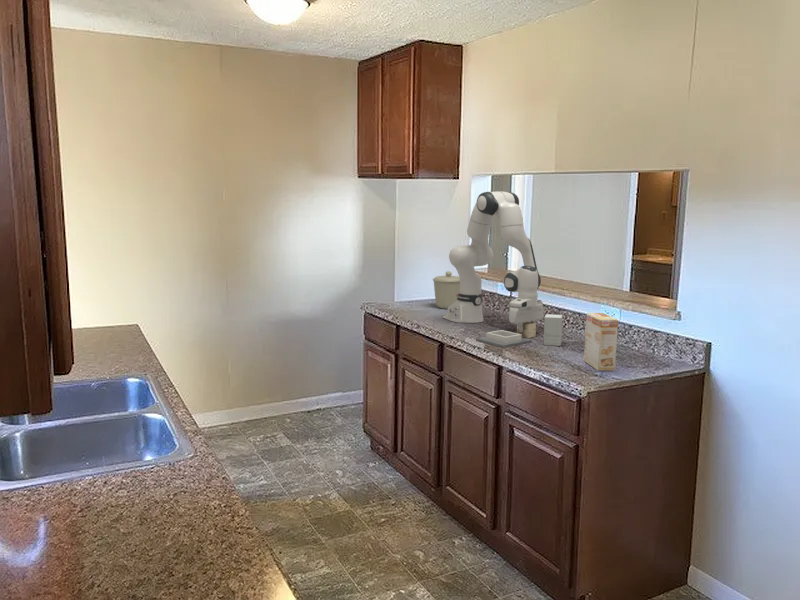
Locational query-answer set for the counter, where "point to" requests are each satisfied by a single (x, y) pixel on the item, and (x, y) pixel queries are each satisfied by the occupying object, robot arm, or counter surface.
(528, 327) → the tan cardboard carton
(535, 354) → the counter surface
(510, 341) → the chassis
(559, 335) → the supplement box
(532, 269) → the robot arm
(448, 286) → the canister
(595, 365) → the coffeecake box
